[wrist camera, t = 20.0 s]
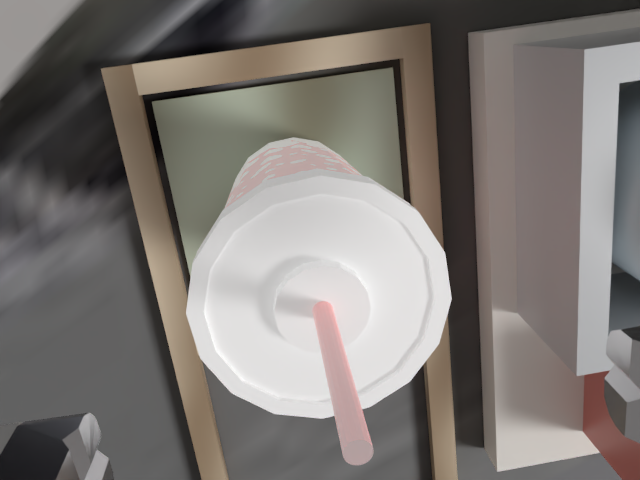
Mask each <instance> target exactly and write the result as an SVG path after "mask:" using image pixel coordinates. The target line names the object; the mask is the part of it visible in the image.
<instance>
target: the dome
mask: <svg viewBox="0 0 640 480" xmlns="http://www.w3.org/2000/svg"><path fill="white" fill-rule="evenodd" d="M611 263H613V264H614V265H616V266H617V267H619V268H621V269H622V270H624V271H625V272H627V273H628V274H630V275H631V276H633V277H634V278H636V279H637V280H639V281H640V80H638V81H636V82H634V83H632V84H630V85H629V86H627V87H625V88H624V89H622V90H621V91H619V104H618V126H617V149H616V171H615V194H614V217H613V239H612V262H611Z"/></svg>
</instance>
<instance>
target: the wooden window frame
mask: <svg viewBox="0 0 640 480" xmlns="http://www.w3.org/2000/svg"><path fill="white" fill-rule="evenodd" d="M393 59H400V72H401V85H402V98H403V110H404V123H405V136H406V149H407V161H408V174H409V187H410V200H411V206H412V207H414V208H416V210H417V211H418V212H419V213H420V215H421V216H422V218H423V219H424V221H425V222H426V224H427V225H428V227H429V229H430V230H431V232H432V233H433V235H434V236H435V238H436V239H437V241H438V242H439V244H440V246H441V247H442V249H443V250H444V245H443V229H442V212H441V195H440V179H439V162H438V146H437V129H436V112H435V96H434V79H433V62H432V46H431V29H430V23H424V24H417V25H409V26H402V27H395V28H388V29H381V30H373V31H366V32H359V33H352V34H344V35H337V36H330V37H323V38H315V39H308V40H301V41H294V42H286V43H279V44H272V45H265V46H258V47H250V48H243V49H236V50H229V51H221V52H214V53H207V54H200V55H192V56H185V57H178V58H171V59H163V60H156V61H149V62H142V63H134V64H127V65H120V66H113V67H106V68H102V69H101V72H102V76H103V80H104V84H105V88H106V92H107V96H108V100H109V104H110V108H111V112H112V116H113V121H114V125H115V129H116V133H117V137H118V141H119V145H120V149H121V153H122V157H123V161H124V165H125V169H126V173H127V178H128V182H129V186H130V190H131V194H132V198H133V202H134V206H135V210H136V214H137V218H138V222H139V226H140V231H141V235H142V239H143V243H144V247H145V251H146V255H147V259H148V263H149V267H150V271H151V275H152V279H153V284H154V288H155V292H156V296H157V300H158V304H159V308H160V312H161V316H162V320H163V324H164V328H165V332H166V336H167V341H168V345H169V349H170V353H171V357H172V361H173V365H174V369H175V373H176V377H177V381H178V385H179V389H180V394H181V398H182V402H183V406H184V410H185V414H186V418H187V422H188V426H189V430H190V434H191V438H192V442H193V447H194V451H195V455H196V459H197V463H198V467H199V471H200V475H201V479H202V480H229V478H228V474H227V469H226V465H225V460H224V456H223V451H222V447H221V443H220V438H219V434H218V429H217V425H216V420H215V416H214V412H213V407H212V403H211V398H210V394H209V389H208V385H207V381H206V376H205V372H204V367H203V363H202V360H201V359H200V356H199V353H198V350H197V347H196V344H195V341H194V337H193V334H192V331H191V328H190V325H189V322H188V319H187V316H186V308H187V301H188V296H187V292H186V287H185V283H184V279H183V274H182V270H181V265H180V261H179V256H178V252H177V248H176V243H175V239H174V234H173V230H172V225H171V221H170V217H169V212H168V208H167V203H166V199H165V194H164V190H163V186H162V181H161V177H160V172H159V168H158V163H157V159H156V155H155V150H154V146H153V141H152V137H151V132H150V128H149V124H148V119H147V115H146V110H145V106H144V101H143V97H142V95H146V94H153V93H160V92H167V91H174V90H181V89H188V88H195V87H202V86H209V85H217V84H224V83H231V82H238V81H245V80H252V79H259V78H266V77H273V76H280V75H287V74H294V73H301V72H308V71H315V70H323V69H330V68H337V67H344V66H351V65H358V64H365V63H372V62H379V61H386V60H393ZM152 106H153V110H154V115H155V119H156V124H157V128H158V133H159V138H160V142H161V147H162V151H163V156H164V160H165V165H166V169H167V174H168V178H169V183H170V187H171V192H172V196H173V201H174V205H175V210H176V214H177V219H178V223H179V228H180V232H181V237H182V242H183V246H184V251H185V255H186V260H187V264H188V269H189V273H190V278H191V270H192V263H193V260H194V258H195V256H196V253H197V251H198V249H199V247H200V246H201V244H202V243H203V241H204V239H205V238H206V236H207V235H208V233H209V231H210V230H211V228H212V227H213V225H214V223H215V222H216V220H217V219H218V217H219V215H220V214H221V212H222V211H223V210H224V208H225V205H226V203H227V200H228V198H229V195H230V192H231V190H232V187H233V184H234V182H235V179H236V177H237V175H238V174H239V172H240V171H241V169H242V167H243V166H244V164H245V162H246V161H247V159H248V158H249V157H250V156H251V155H253V154H254V153H255V152H257V151H258V150H260V149H261V148H263V147H264V146H265V145H267V144H268V143H271V142H275V141H279V140H284V139H288V138H293V137H295V138H301V139H307V140H313V141H318V142H320V143H322V144H323V145H325V146H326V147H328V148H329V149H331V150H332V151H334V152H336V153H337V154H339V155H340V156H341V157H342V158H343V159H344V160H346V161H347V162H348V163H349V164H350V165H351V166H352V167H353V168H355V169H356V170H357V171H358V172H359V173H360V174H361V175H362V176H366V177H369V178H371V179H372V180H374V181H375V182H377V183H378V184H380V185H382V186H383V187H385V188H386V189H388V190H389V191H391V192H392V193H394V194H396V195H397V196H399V197H400V198H402V199H403V200H404V195H403V183H402V171H401V159H400V147H399V135H398V123H397V110H396V98H395V86H394V74H393V67H390V68H383V69H376V70H369V71H362V72H355V73H348V74H341V75H334V76H326V77H319V78H312V79H305V80H298V81H291V82H284V83H277V84H270V85H263V86H256V87H249V88H242V89H235V90H228V91H221V92H214V93H207V94H200V95H193V96H186V97H179V98H172V99H165V100H158V101H152ZM423 366H424V379H425V391H426V404H427V417H428V430H429V442H430V455H431V468H432V480H458V478H457V462H456V445H455V428H454V412H453V395H452V379H451V362H450V345H449V329H448V314H447V318H446V321H445V325H444V328H443V332H442V335H441V339H440V342H439V345H438V346H437V347H436V349H435V350H434V351H433V352H432V354H431V355H430V356H429V358H428V359H427V360H426V362H425V363H424V364H423Z"/></svg>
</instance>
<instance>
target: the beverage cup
mask: <svg viewBox="0 0 640 480" xmlns="http://www.w3.org/2000/svg"><path fill="white" fill-rule="evenodd" d="M451 300H452V297H451V290H450V283H449V276H448V269H447V262H446V255H445V252H444V250H443V249H442V247H441V246H440V244H439V242H438V241H437V239H436V238H435V236H434V235H433V233H432V232H431V230H430V229H429V227H428V225H427V224H426V222H425V221H424V219H423V218H422V216H421V215H420V213H419V212H418V211H417V210H416V208H414V207H412V206H411V205H410V204H409V203H408V202H407V201H405V200H403V199H402V198H400V197H399V196H397V195H396V194H394V193H392V192H391V191H389V190H388V189H386V188H385V187H383V186H382V185H380V184H378V183H377V182H375V181H374V180H372V179H371V178H369V177H366V176H362V175H361V174H360V173H359V172H358V171H357V170H356V169H355V168H353V167H352V166H351V165H350V164H349V163H348V162H347V161H346V160H344V159H343V158H342V157H341V156H340V155H339V154H337V153H336V152H334V151H332V150H331V149H329V148H328V147H326V146H325V145H323V144H322V143H320V142H318V141H313V140H307V139H301V138H295V137H293V138H288V139H284V140H279V141H275V142H271V143H268V144H267V145H265V146H264V147H263V148H261V149H260V150H258V151H257V152H255V153H254V154H253V155H251V156H250V157H249V158H248V159H247V161H246V162H245V164H244V166H243V167H242V169H241V171H240V172H239V174H238V175H237V177H236V179H235V182H234V184H233V187H232V190H231V192H230V195H229V198H228V200H227V203H226V205H225V208H224V210H223V211H222V212H221V214H220V215H219V217H218V219H217V220H216V222H215V223H214V225H213V227H212V228H211V230H210V231H209V233H208V235H207V236H206V238H205V239H204V241H203V243H202V244H201V246H200V247H199V249H198V251H197V253H196V256H195V258H194V260H193V263H192V270H191V278H190V285H189V293H188V301H187V308H186V316H187V319H188V322H189V325H190V328H191V331H192V334H193V337H194V341H195V344H196V347H197V350H198V353H199V356H200V359H201V360H202V361H203V362H204V363H205V364H206V365H207V367H208V368H209V369H210V370H211V371H212V372H213V373H214V374H215V375H216V377H217V378H218V379H219V380H220V381H221V382H222V383H223V384H224V385H225V387H226V388H227V389H228V390H229V391H230V392H231V393H232V394H234V395H236V396H238V397H240V398H242V399H244V400H247V401H249V402H251V403H253V404H255V405H257V406H259V407H261V408H263V409H265V410H267V411H269V412H271V413H274V414H280V415H291V416H301V417H311V418H322V419H323V418H327V417H331V416H335V420H336V425H337V430H338V434H339V439H340V444H341V448H342V453H343V457H344V459H345V461H346V462H347V463H349V464H351V465H362V464H365V463H366V462H368V461H369V460H370V459H371V457H372V456H373V452H374V451H373V446H372V443H371V439H370V436H369V432H368V429H367V425H366V422H365V418H364V415H363V411H362V409H364V408H368V407H371V406H372V405H374V404H375V403H377V402H379V401H380V400H382V399H383V398H385V397H386V396H388V395H390V394H391V393H393V392H394V391H396V390H397V389H399V388H401V387H402V386H404V385H405V384H407V383H408V382H410V381H411V380H412V378H413V377H414V376H415V375H416V373H417V372H418V371H419V369H420V368H421V367H422V365H423V364H424V363H425V362H426V360H427V359H428V358H429V356H430V355H431V354H432V352H433V351H434V350H435V349H436V347H437V346H438V345H439V342H440V339H441V335H442V332H443V328H444V325H445V321H446V318H447V314H448V311H449V307H450V304H451Z"/></svg>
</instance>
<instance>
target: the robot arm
mask: <svg viewBox="0 0 640 480" xmlns="http://www.w3.org/2000/svg"><path fill="white" fill-rule="evenodd" d="M606 355H607V356H608V358H609V359H610V360H611V361H612V362H613V364H614V366H613V367H612V369H611V370H610V371H609V373H608V374H607V375H606V377H605V378H604V398H605V402H606V405H607V409H608V413H609V415H610V417H611V419H612V420H613V422H614V424H615V426H616V427H617V428H618V429H619V431H620V432H621V433H622V434H623V435H624V437H626V438H629V439H631V440H633V441H635V442H637V443H640V326H636V327H630V328H625V329H619V330H613V331H611V332H610V334H609V336H608V339H607V344H606ZM101 436H102V435H101V432H100V429H99V426H98V423H97V420H96V417H94V416H93V415H92V414H90V413H83V414H76V415H69V416H61V417H54V418H47V419H40V420H32V421H25V422H17V423H11V424H5V425H0V480H114V477H113V471H112V468H111V464H110V461H109V458H107V457H106V456H105V455H103V454H102V453H100V452H99V451H98V450H97V447H98V444H99V441H100V438H101Z"/></svg>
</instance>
